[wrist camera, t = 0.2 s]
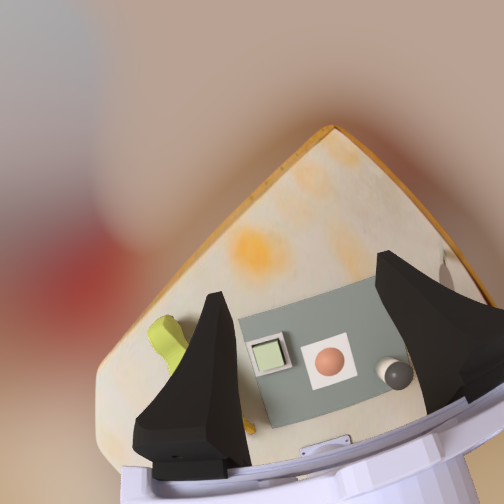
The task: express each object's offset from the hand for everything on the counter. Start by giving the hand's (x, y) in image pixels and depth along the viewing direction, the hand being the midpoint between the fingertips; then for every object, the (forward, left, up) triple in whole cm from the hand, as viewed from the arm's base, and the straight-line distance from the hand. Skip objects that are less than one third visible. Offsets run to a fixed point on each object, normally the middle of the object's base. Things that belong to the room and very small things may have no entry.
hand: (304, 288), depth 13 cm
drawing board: (-10, -4, -31) cm, 33 cm away
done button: (-7, +5, -30) cm, 31 cm away
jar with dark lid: (-15, -11, -31) cm, 36 cm away
